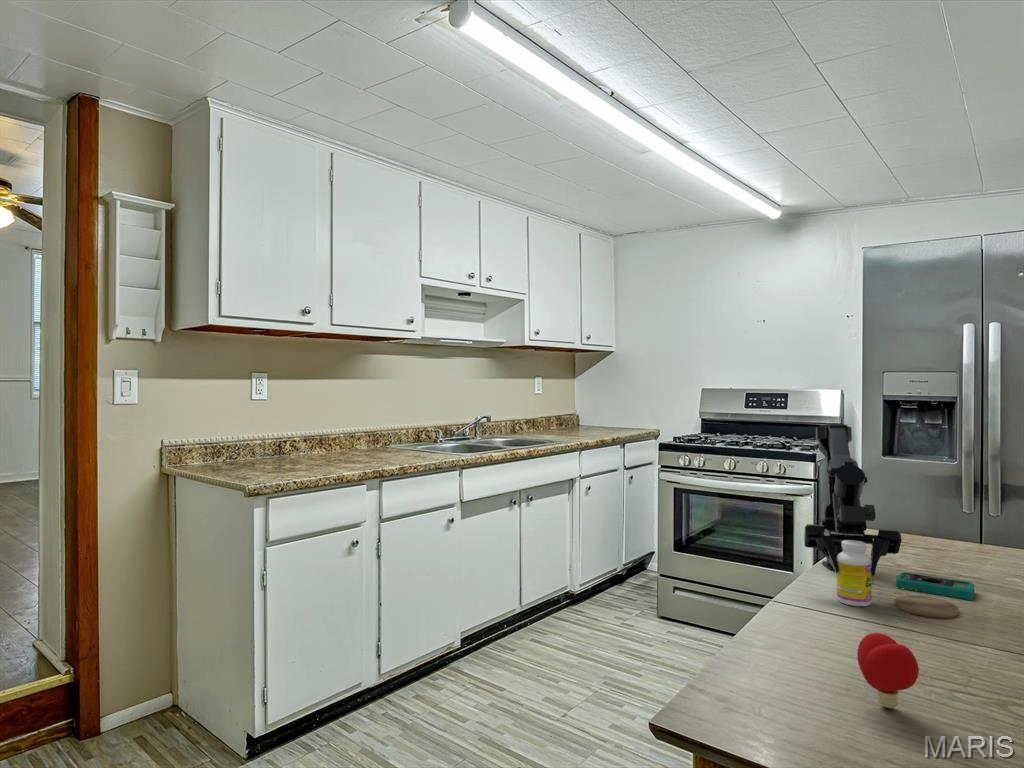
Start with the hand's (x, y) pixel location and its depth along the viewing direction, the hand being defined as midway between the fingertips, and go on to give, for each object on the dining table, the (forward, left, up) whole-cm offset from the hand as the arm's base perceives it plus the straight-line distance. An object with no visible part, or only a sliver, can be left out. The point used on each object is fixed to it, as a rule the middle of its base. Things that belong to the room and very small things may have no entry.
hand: (854, 573), depth 138 cm
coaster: (+2, +13, -7) cm, 15 cm away
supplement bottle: (-1, 0, -7) cm, 7 cm away
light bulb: (+46, -14, -7) cm, 48 cm away
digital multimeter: (-11, +22, -7) cm, 26 cm away
